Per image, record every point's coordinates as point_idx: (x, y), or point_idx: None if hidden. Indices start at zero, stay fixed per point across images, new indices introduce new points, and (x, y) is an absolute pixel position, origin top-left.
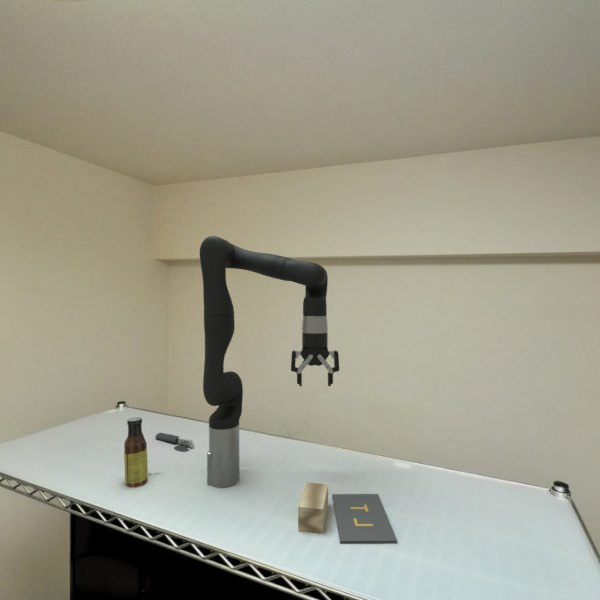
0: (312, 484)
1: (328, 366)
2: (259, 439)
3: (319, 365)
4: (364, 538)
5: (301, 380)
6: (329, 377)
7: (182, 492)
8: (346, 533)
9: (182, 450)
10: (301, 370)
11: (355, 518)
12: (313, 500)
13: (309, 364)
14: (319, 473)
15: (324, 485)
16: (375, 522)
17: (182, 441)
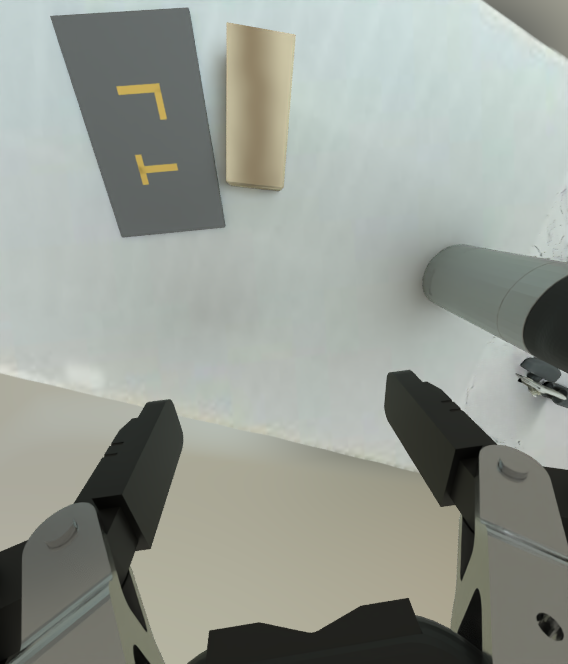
0: (266, 175)
1: (48, 631)
2: (388, 440)
3: (225, 633)
4: (131, 22)
5: (415, 397)
6: (126, 457)
7: (533, 216)
8: (176, 45)
9: (544, 365)
10: (494, 486)
11: (161, 118)
12: (256, 77)
13: (429, 630)
14: (259, 321)
15: (234, 171)
16: (113, 103)
17: (552, 390)
